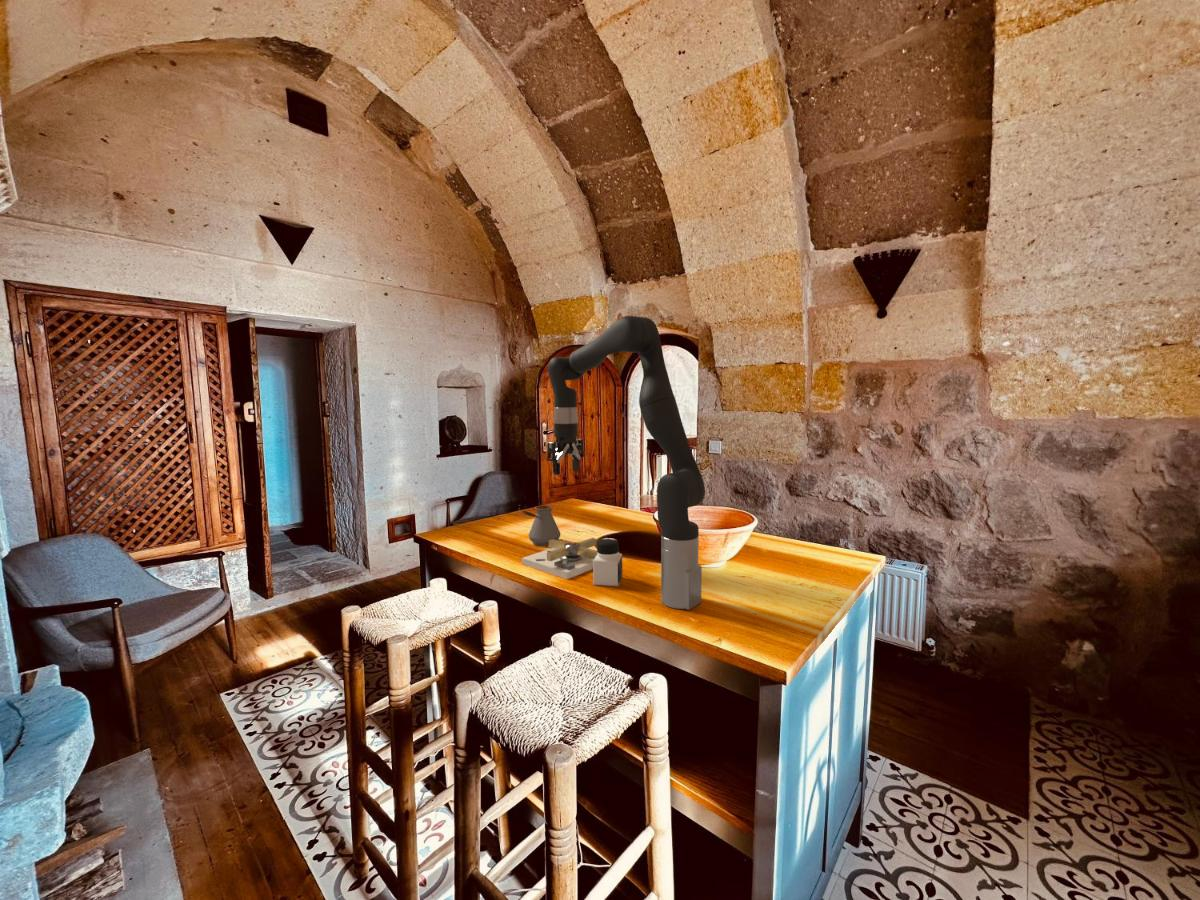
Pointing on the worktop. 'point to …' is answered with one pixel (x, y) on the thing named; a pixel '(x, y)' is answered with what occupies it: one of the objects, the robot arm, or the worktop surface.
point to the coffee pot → (543, 526)
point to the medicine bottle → (607, 563)
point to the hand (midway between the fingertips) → (566, 472)
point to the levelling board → (558, 565)
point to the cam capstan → (571, 550)
